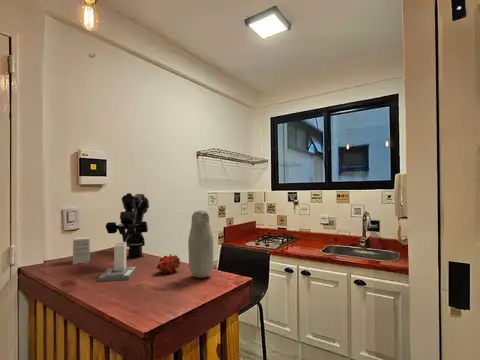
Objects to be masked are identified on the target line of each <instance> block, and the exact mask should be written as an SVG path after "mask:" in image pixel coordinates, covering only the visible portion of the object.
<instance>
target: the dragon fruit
mask: <svg viewBox="0 0 480 360" xmlns="http://www.w3.org/2000/svg"><path fill="white" fill-rule="evenodd" d="M180 266H181V258H179V257H178V255H176V254H175V255H172V254H171V253H170V254H169V255H164V256H163V257H162V258H160V259H159V261H158V263H157V266H156V269H158V270H159V271H158V272H159V274H167V273H170V274H172V273H174V272H175V271H176V270H177V269H179V268H180Z"/></svg>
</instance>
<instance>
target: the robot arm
mask: <svg viewBox="0 0 480 360" xmlns="http://www.w3.org/2000/svg"><path fill="white" fill-rule="evenodd" d="M121 202H122V206H123V209H124V210H125V211H120V212H119V213H120V214H119V219H120V223H119V224H117V223H116V222H115V221H114V222H113V221H111V222H106V224H105V229H106V231H107V233H108V234H115V233H116V234H117V232H119V234H120V235H122V243H125V244H126V248H128V249H127V251H128V255H126V258H129V259H138V258H139V259H140V258H143V257H144V256H145V255H144V254H143V247H144V246H145V245H146V244H145V243H146V242H145V237H144V235H143V233H147V232H148V230H149V226H148V222H147V221H144V216H145V214H146V213H147V212H148V211H149V210H148V209H149V208H150V202H149V199H148V198H147V197H146V196H145V194H143V193H136V194H135V195H132V193H130V192H129V193H126V194H125V195H123V196H122V197H121Z"/></svg>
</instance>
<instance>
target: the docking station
mask: <svg viewBox="0 0 480 360" xmlns="http://www.w3.org/2000/svg"><path fill="white" fill-rule="evenodd" d="M136 271H137V266H131V265H126V268H125V270H124V271H114V267H110V268H107V269H106V270H105V271H104V272H103V273H101V275H100V276H98V277H97V282H99V283H100V282H112V281H113V282H114V281H115V282H116V281H128V280H129V281H130V280H131V278H132V277H133V275H134V273H136Z"/></svg>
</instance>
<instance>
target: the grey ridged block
mask: <svg viewBox="0 0 480 360" xmlns="http://www.w3.org/2000/svg"><path fill="white" fill-rule="evenodd" d="M90 252H91V237H90V236H80V237H79V236H77V237H74V238H73V240H72V265H79V264H78V263H82V264H89V263H88V262H90V261H91V258H90V257H91V253H90Z"/></svg>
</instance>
